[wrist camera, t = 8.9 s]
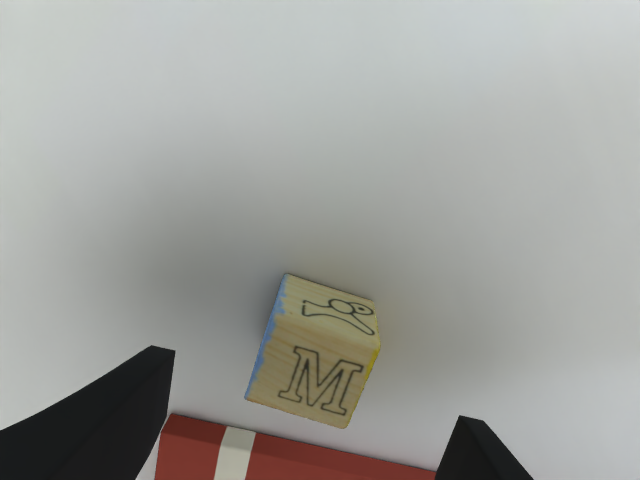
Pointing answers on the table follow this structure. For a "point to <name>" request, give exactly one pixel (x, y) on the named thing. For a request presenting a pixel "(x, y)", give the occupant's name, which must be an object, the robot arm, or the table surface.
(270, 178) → the table surface
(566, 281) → the table surface
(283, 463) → the towel
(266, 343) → the alphabet block
